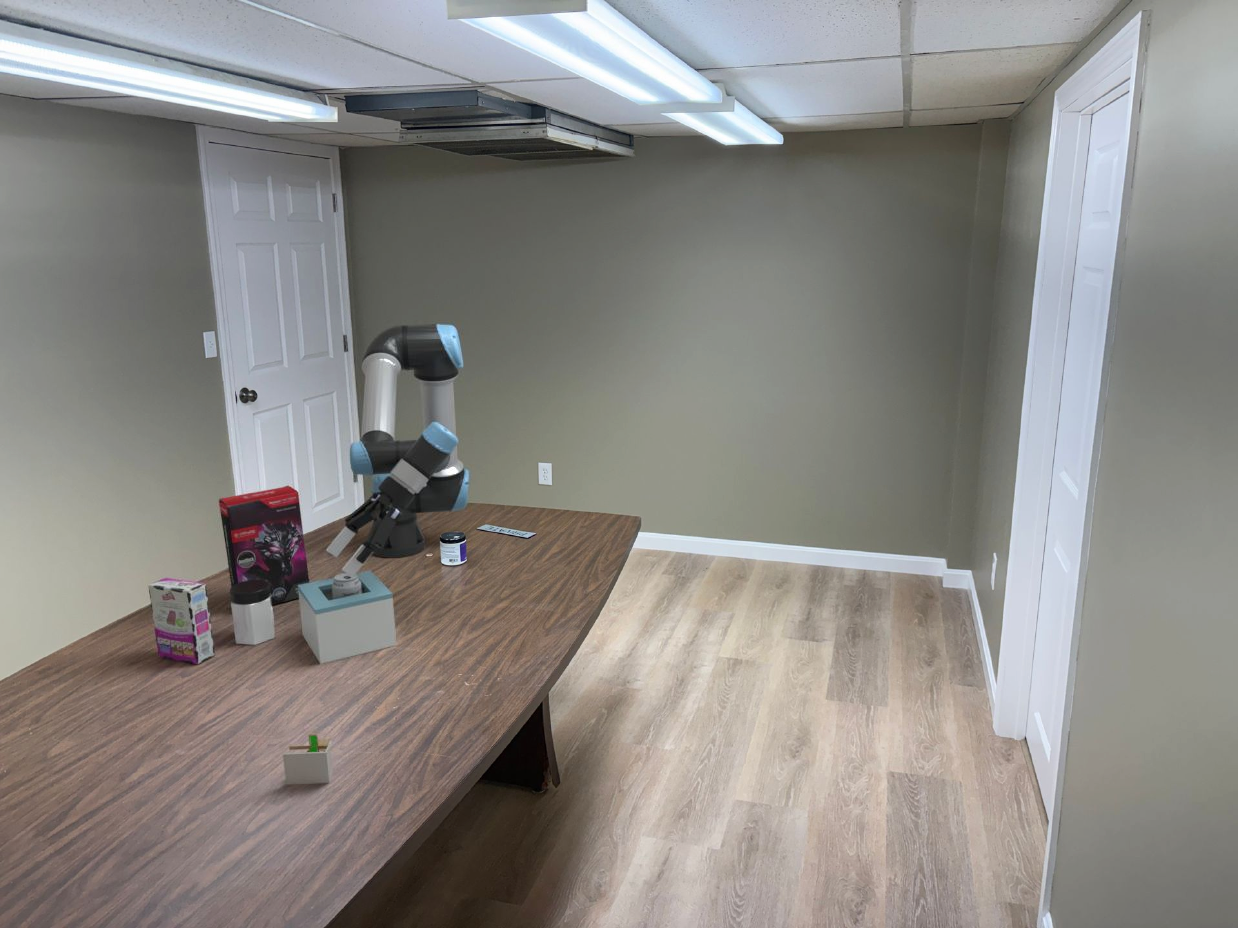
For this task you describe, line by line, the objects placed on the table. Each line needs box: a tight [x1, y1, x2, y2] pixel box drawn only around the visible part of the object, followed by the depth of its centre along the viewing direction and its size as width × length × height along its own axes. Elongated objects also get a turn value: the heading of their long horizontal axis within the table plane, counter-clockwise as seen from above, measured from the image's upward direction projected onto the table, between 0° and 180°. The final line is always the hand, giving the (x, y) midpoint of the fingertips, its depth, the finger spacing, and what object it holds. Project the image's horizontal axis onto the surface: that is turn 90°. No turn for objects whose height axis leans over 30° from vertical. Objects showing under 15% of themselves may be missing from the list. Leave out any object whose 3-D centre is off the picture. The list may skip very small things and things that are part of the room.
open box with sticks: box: [282, 733, 334, 785], centre depth 141 cm, size 4×7×8 cm, turn 93°
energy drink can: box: [332, 572, 362, 600], centre depth 189 cm, size 6×6×15 cm
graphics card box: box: [218, 485, 310, 606], centre depth 209 cm, size 17×7×27 cm, turn 131°
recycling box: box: [298, 570, 397, 665], centre depth 190 cm, size 16×16×12 cm
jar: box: [229, 580, 276, 646], centre depth 192 cm, size 9×8×12 cm
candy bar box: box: [147, 577, 216, 665], centre depth 182 cm, size 11×5×16 cm, turn 70°
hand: (338, 563), depth 186 cm, fingers open, 13 cm apart
